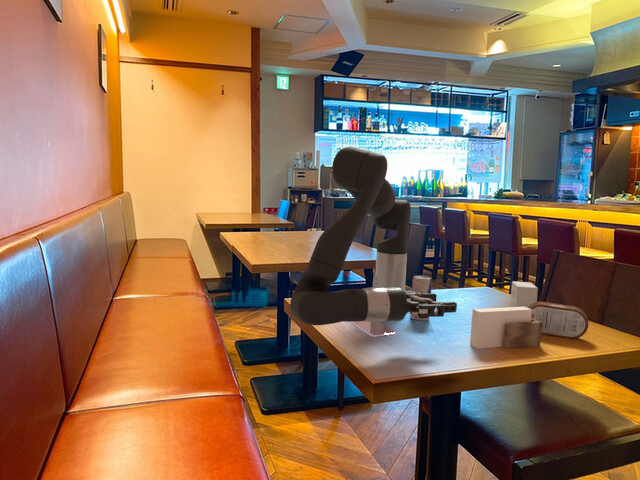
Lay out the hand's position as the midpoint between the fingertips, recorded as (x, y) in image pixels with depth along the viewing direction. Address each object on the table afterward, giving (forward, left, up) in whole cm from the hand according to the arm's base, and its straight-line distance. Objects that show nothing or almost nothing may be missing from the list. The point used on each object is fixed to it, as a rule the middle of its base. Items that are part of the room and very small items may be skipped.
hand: (445, 302), depth 109 cm
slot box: (+15, +13, -11) cm, 23 cm away
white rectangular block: (+12, +11, -11) cm, 20 cm away
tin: (+25, +26, -12) cm, 38 cm away
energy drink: (-10, +23, -11) cm, 28 cm away
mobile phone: (-20, +8, -12) cm, 24 cm away
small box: (+17, +38, -11) cm, 44 cm away
